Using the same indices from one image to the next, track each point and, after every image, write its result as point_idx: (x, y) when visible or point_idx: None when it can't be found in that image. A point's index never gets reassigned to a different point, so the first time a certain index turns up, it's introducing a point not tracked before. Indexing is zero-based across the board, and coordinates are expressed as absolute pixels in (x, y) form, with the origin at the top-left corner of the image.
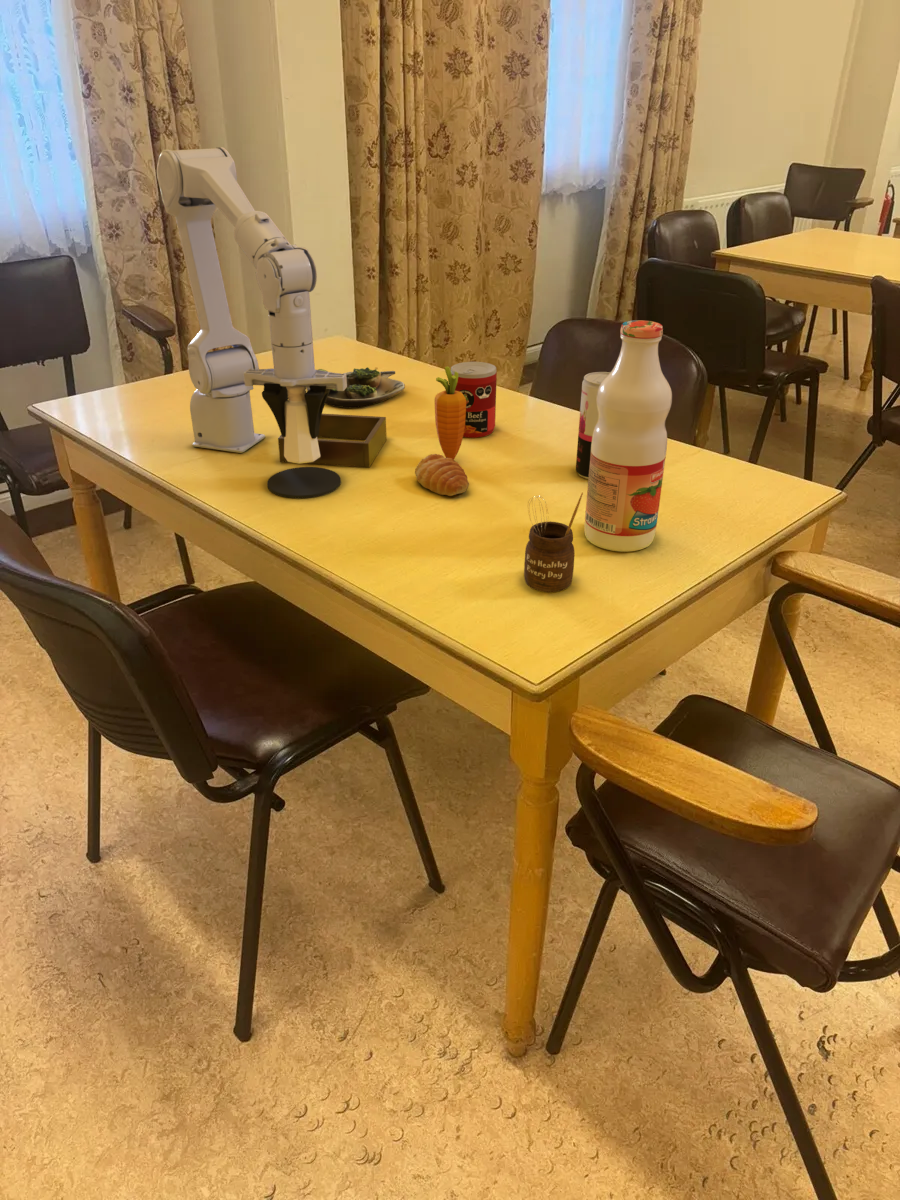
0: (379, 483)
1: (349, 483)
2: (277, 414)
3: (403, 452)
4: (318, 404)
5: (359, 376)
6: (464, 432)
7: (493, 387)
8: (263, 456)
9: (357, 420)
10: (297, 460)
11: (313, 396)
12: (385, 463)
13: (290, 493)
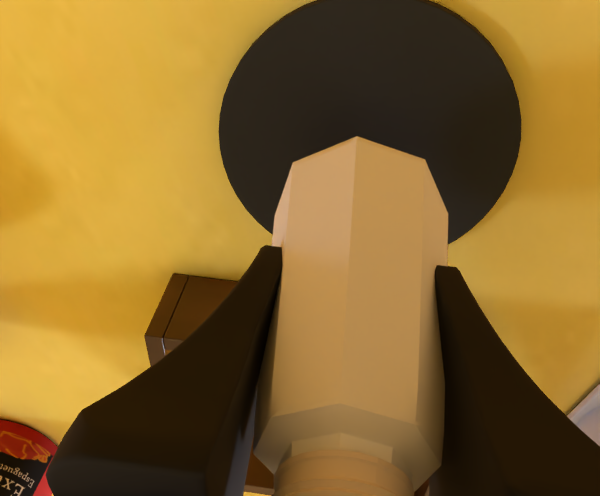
0: (90, 161)
1: (194, 157)
2: (492, 364)
3: (119, 359)
4: (124, 388)
5: None
6: (3, 432)
7: None
8: (541, 346)
9: (256, 476)
10: (366, 146)
11: (118, 449)
12: (138, 300)
13: (402, 15)
